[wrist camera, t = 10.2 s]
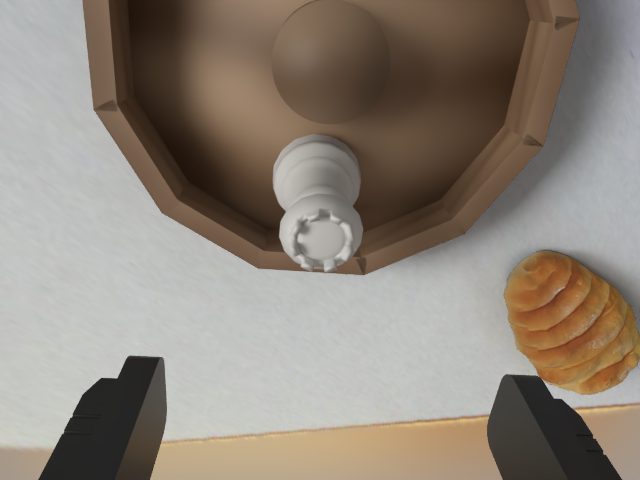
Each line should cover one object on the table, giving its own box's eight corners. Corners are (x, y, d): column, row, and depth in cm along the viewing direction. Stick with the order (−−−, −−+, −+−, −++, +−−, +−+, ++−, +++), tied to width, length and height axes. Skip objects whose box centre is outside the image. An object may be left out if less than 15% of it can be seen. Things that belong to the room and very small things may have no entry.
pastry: (468, 286, 31) (489, 323, 28) (567, 219, 29) (603, 249, 26) (543, 377, 34) (571, 420, 31) (636, 321, 33) (676, 360, 29)
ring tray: (77, -263, 19) (34, -311, 16) (609, -194, 21) (664, -226, 18) (121, 236, 29) (99, 267, 25) (488, 260, 30) (510, 292, 27)
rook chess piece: (310, 112, 25) (314, 162, 18) (377, 169, 26) (406, 236, 19) (255, 180, 26) (237, 251, 19) (321, 230, 28) (328, 314, 20)
